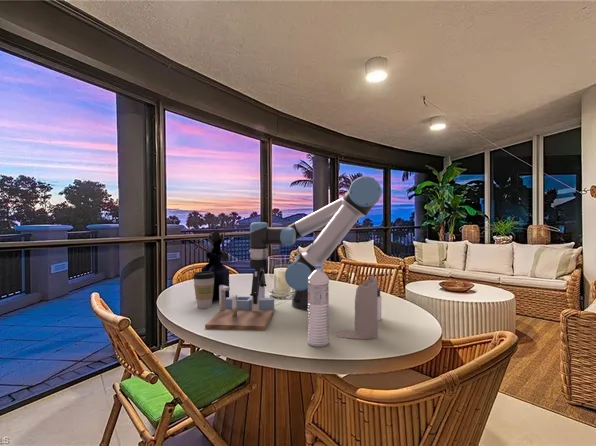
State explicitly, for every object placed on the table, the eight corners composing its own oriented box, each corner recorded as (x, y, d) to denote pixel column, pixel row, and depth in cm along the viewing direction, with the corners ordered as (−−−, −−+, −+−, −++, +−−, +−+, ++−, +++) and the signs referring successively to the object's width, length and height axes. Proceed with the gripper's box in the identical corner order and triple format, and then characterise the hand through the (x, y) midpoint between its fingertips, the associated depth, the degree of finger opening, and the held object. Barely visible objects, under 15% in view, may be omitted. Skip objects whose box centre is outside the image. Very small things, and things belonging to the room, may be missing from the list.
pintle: (237, 318, 127) (237, 295, 127) (236, 320, 125) (236, 296, 125) (232, 318, 127) (232, 295, 127) (231, 320, 125) (231, 296, 125)
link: (223, 312, 136) (223, 300, 136) (228, 307, 143) (228, 296, 143) (272, 313, 135) (272, 301, 134) (275, 308, 142) (274, 297, 141)
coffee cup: (209, 309, 140) (209, 275, 139) (188, 308, 142) (188, 274, 141) (219, 303, 149) (219, 271, 149) (199, 302, 151) (199, 270, 151)
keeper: (229, 315, 131) (229, 287, 131) (225, 316, 130) (225, 287, 129) (223, 312, 135) (223, 284, 135) (219, 313, 134) (219, 285, 134)
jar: (356, 320, 125) (357, 290, 124) (359, 314, 132) (359, 285, 132) (380, 323, 122) (380, 291, 122) (381, 316, 130) (382, 287, 129)
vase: (234, 300, 155) (233, 227, 155) (210, 303, 149) (210, 228, 148) (223, 294, 167) (222, 227, 166) (201, 297, 161) (200, 227, 160)
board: (273, 313, 134) (273, 310, 134) (265, 330, 115) (265, 325, 115) (221, 312, 135) (221, 309, 135) (205, 328, 116) (205, 324, 116)
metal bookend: (335, 331, 114) (335, 274, 113) (374, 331, 113) (375, 274, 113) (337, 338, 106) (337, 278, 106) (379, 339, 106) (379, 279, 105)
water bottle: (322, 349, 98) (322, 267, 97) (303, 344, 102) (303, 266, 101) (332, 341, 104) (332, 264, 103) (314, 337, 107) (314, 263, 107)
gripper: (255, 254, 151) (255, 297, 152) (243, 262, 126) (243, 315, 126) (271, 254, 151) (271, 298, 152) (262, 263, 125) (262, 315, 126)
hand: (258, 307), depth 139 cm, fingers open, 14 cm apart
